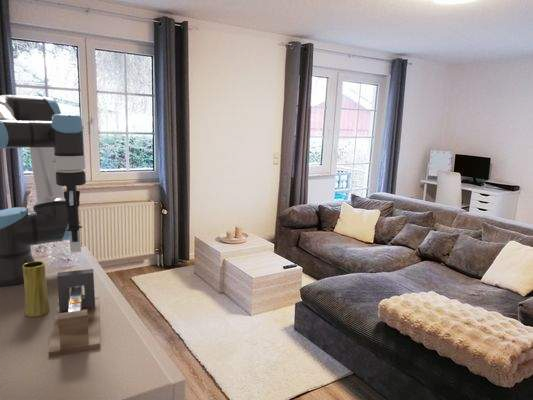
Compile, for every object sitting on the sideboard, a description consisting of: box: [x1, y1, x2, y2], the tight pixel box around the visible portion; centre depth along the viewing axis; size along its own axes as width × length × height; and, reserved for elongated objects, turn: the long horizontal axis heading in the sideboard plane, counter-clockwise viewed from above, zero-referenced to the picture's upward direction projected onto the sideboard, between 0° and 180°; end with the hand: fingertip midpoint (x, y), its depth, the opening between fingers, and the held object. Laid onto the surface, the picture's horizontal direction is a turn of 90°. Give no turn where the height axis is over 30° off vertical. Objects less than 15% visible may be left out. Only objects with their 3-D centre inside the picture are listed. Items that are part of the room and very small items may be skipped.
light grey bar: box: [68, 286, 83, 312], centre depth 105 cm, size 22×3×3 cm, turn 23°
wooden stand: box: [47, 293, 101, 358], centre depth 105 cm, size 27×11×9 cm, turn 23°
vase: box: [22, 260, 51, 318], centre depth 111 cm, size 6×6×14 cm
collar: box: [56, 268, 96, 311], centre depth 111 cm, size 3×9×10 cm, turn 113°
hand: (75, 251), depth 115 cm, fingers closed
